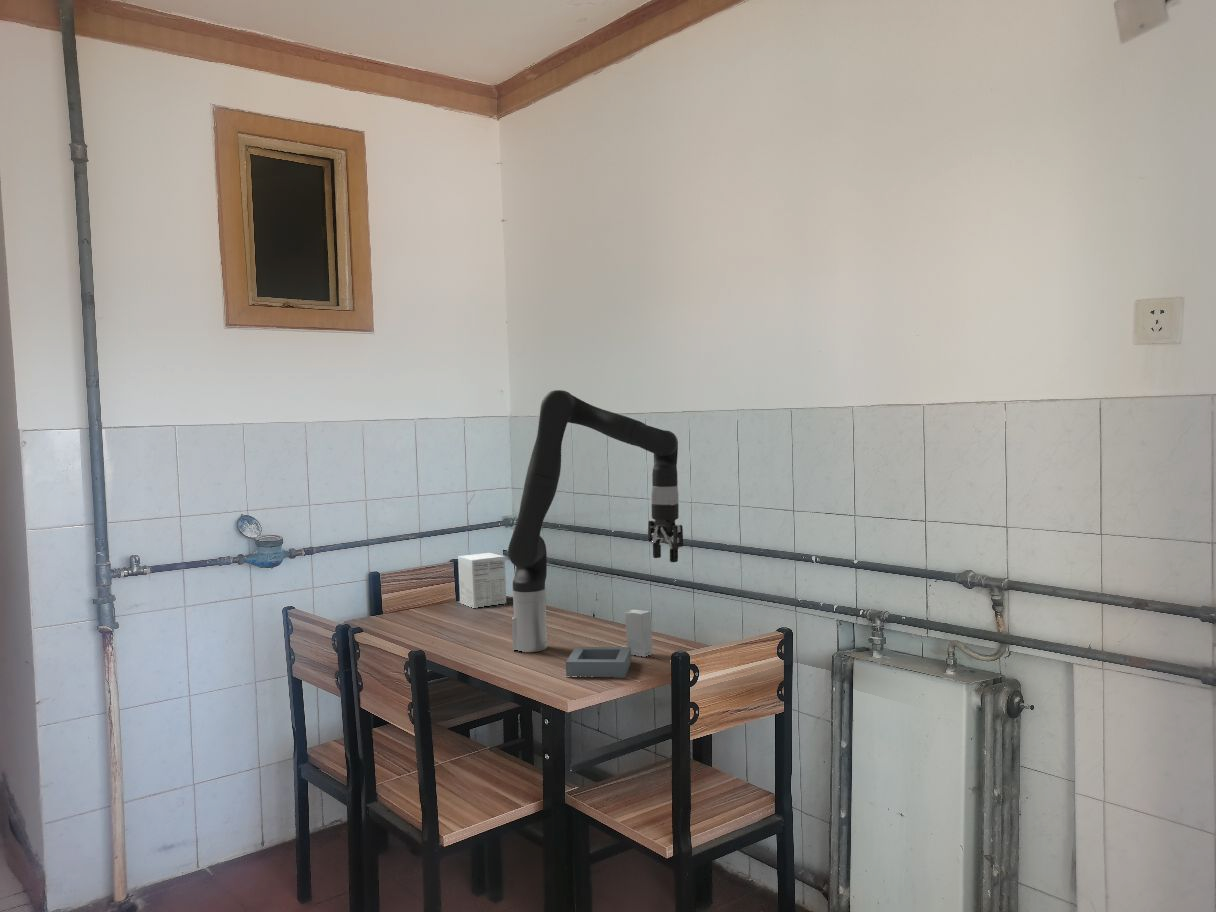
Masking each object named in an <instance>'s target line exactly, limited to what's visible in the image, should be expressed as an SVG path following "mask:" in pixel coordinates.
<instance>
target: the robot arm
mask: <svg viewBox="0 0 1216 912" xmlns="http://www.w3.org/2000/svg"><path fill="white" fill-rule="evenodd" d="M539 409H540V410H539V419H538V427H537V433H536V434H537V435H536V439H535V442H534V445H533V448H532V452H531V455H530V456H531V457H530V459H529V463H528V466H527V467H528V468H527V472H526V476H525V480H524V485H523V491H522V496H521V501H520V507H519V512H518V517H517V520H516V523H515V526H514V530H513V532H512V535H511V538H510V541H509V544H508V550H507V555H508V559H509V560H510V563H512V564H513V566H514V567H516V568H515V570H516V571H515V575H514V577H513V580H512V602H513V605H512V607H513V617H512V618H511V625H512V626H511V627H512V628H511V630H512V631H511V632H512V634H511V635H512V651H513V650H518V651H517V652H519V651H522V653H535V652H542V651H545V650H546V649H548V639H547V638H548V635H547V613H546V612H547V610H546V606H547V605H546V579H547V574H548V573H547V571H548V570H547V569H548V568H547V565H548V564H547V561H548V560H547V559H548V558H547V556H548V555H547V554H548V553H547V546H546V543H545V540H544V538H543V537H541V530H542V526H543V523H544V520H545V518H546V515H547V514H548V511H549V509H550V507H551V506H552V502H553V501H554V498H555V496H556V492H557V489H558V485H559V480H560V477H561V470H562V469H561V468H562V444H563V439H564V436H565V432H566V428H567V425H568V423H570V424H574V425H575V424H576V425H580V426H583V427H587V428H589V429H591V430H594V431H596V432H598V433H601V434H603V435H605V436H607V437H609V438H612V439H614V440H617V441H619V442H621V443H625V444H627V445H631V446H635V447H638V448H641V449H643V450H645V451H647V452H650V453H652V454H653V467H652V475H651V477H652V480H651V482H652V488H651V519H652V520H648V523H647V524H648V527H647V540H648V542H650V543H651V544H652V557H653V558H654V559H660V558H661V557H662V545H661V544H662V541H663V539H664V541H665V542H666V543H668V546H669V562H670V563H677V562H678V561H679V549H680V548H681V547H682V548H683V546H684V532H683V531H684V529H683V525H682V524H676V520H678V519H679V518H680V517H679V512H680V511H679V510H680V509H679V506H680V505H679V488H678V469H677V468H678V466H677V465H678V453H679V452H678V451H679V440H678V437H677V436H676V434H675V433H674V432H672V431H670V430H667V429H666V430H665V429H661V428H657V427H654V426H651V425H647V424H646V423H645V422H642V421H640V420H637V419H634V418H631V417H629V416H627V415H626V416H625V415H622V414H619V413H617V412H612V411H609V410H606V409H602V408H600V407H597V406H594V405H593V404H590V403H588V402H586V401H584V400H581V398H579V397H577V396H575V395H573V394H571V393H570V392H569V391H566V390H563V389H562V390H561V389H555V390H551V391H549V392H548V393H546V394H545V396H544V397H543V398H542V400H541V403H540V408H539ZM678 540H679V541H678Z"/></svg>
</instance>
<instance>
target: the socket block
mask: <svg viewBox="0 0 1216 912" xmlns="http://www.w3.org/2000/svg"><path fill="white" fill-rule="evenodd" d="M631 664H632V655H631V647H627V646H624V647H623V646H622V647H621V646H575V647H574V649H573V650H572V651H571V653H570V654H569V656H568V658H567V659H566V661H565V677H566V676H570V677H569V678H572V676H577V677H580V676H581V677H585V676H586V677H591V676H593V677H614V678H613V679H624V678H626V676H627V673H628V671H629V669H630V666H631Z"/></svg>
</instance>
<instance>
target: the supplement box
mask: <svg viewBox="0 0 1216 912" xmlns="http://www.w3.org/2000/svg"><path fill="white" fill-rule="evenodd" d="M505 557H506V556H505V555H500V554H496V553H492V552H485V553H474V554H466V555H458V556H457V563H458V564H457V565H458V585H459V589H458V590H459V604H460V603H461V604H460V605H463V604H464V605H463V606H465V605H466V607H468V606H469V608H471V607H472V608H471V609H473V608H476V609H479V608H478V607H483V608H485V607H484V606H490V605H497V606H499V605H498V604H504V603H506V604H507V583H506V579H507V578H506V558H505ZM504 605H505V604H504ZM490 607H491V606H490Z"/></svg>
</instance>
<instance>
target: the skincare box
mask: <svg viewBox="0 0 1216 912" xmlns="http://www.w3.org/2000/svg"><path fill="white" fill-rule="evenodd" d="M624 616H625V631H626V645H627V646H626V647H631V656H634V655H636V656H635V657H641V656H642V658H647V657H649V656H648V655H650V656H652V655H654V650H653V648H654V647H653V636H652V635H653V632H652V617H651V616H652V615H651V611H650V610H648V611H647V610H641V609H629V610H628V611H625V612H624ZM651 654H652V655H651ZM646 656H647V657H646Z"/></svg>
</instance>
